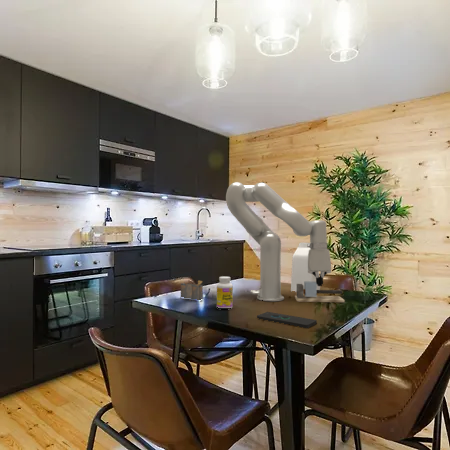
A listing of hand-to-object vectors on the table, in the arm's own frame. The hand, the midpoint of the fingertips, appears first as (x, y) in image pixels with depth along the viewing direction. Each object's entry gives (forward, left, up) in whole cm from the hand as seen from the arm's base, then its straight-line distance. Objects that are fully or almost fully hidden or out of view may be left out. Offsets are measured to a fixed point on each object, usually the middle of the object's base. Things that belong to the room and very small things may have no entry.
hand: (319, 285), depth 157 cm
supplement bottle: (-43, -21, -7) cm, 48 cm away
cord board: (0, 0, -7) cm, 7 cm away
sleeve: (-4, 0, -5) cm, 6 cm away
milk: (-3, +24, -7) cm, 25 cm away
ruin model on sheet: (-60, -5, -7) cm, 60 cm away
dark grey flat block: (-19, -39, -7) cm, 44 cm away
